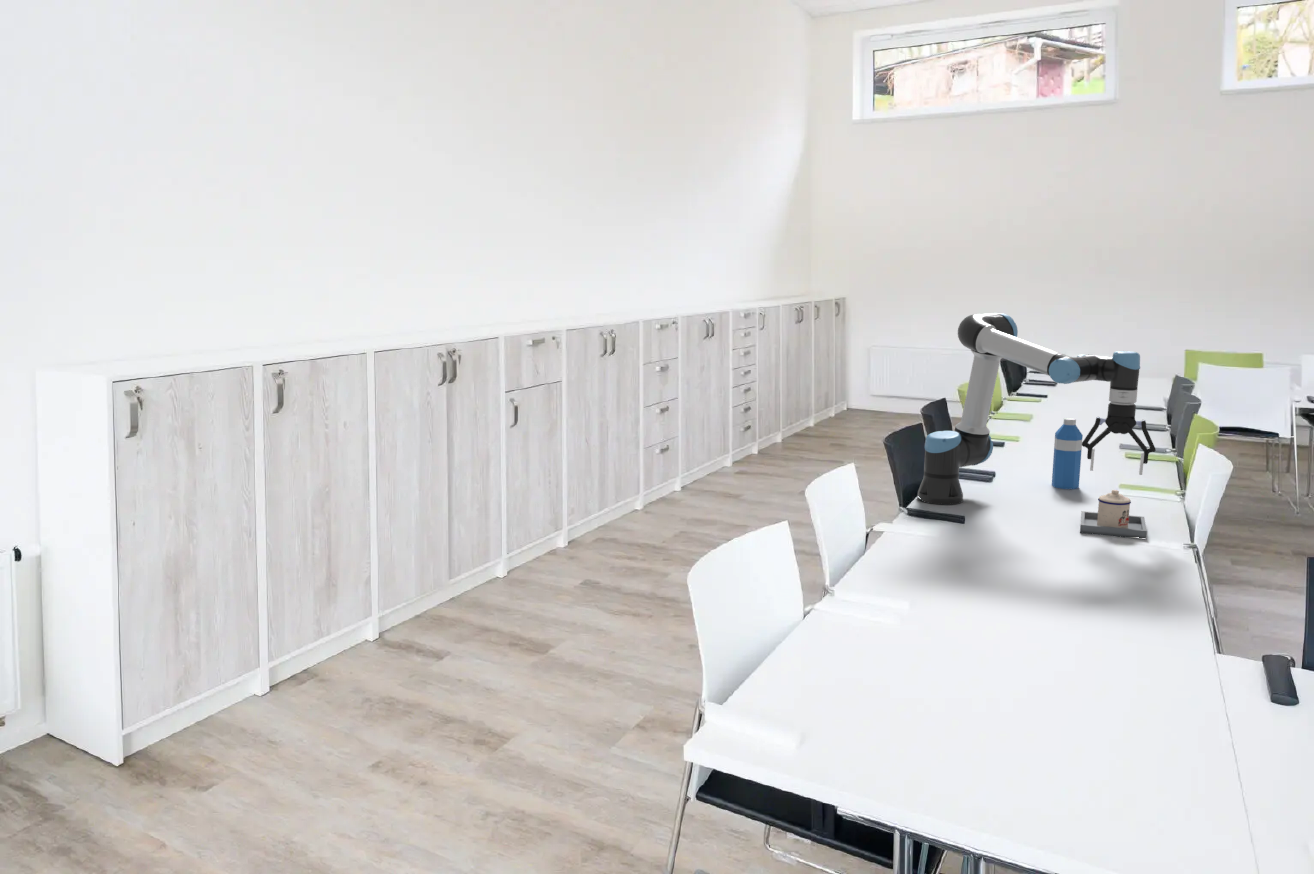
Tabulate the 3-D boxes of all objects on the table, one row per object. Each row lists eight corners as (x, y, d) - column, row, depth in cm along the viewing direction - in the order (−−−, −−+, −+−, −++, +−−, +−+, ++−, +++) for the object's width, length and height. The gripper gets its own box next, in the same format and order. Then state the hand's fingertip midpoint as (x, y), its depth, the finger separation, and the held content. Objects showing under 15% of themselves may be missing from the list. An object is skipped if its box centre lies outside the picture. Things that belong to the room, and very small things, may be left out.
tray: (1079, 533, 297) (1080, 524, 296) (1080, 518, 313) (1081, 511, 312) (1146, 539, 289) (1146, 531, 289) (1143, 524, 306) (1144, 516, 305)
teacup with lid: (1124, 533, 293) (1127, 495, 291) (1092, 528, 299) (1095, 490, 297) (1134, 524, 302) (1137, 488, 300) (1103, 520, 308) (1106, 484, 306)
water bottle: (1081, 485, 360) (1086, 418, 355) (1076, 490, 352) (1081, 421, 347) (1054, 482, 365) (1058, 416, 360) (1049, 487, 357) (1053, 419, 352)
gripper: (1077, 402, 296) (1071, 470, 300) (1169, 407, 286) (1162, 478, 290) (1077, 398, 303) (1071, 465, 306) (1168, 404, 293) (1160, 473, 297)
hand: (1115, 471), depth 298 cm, fingers open, 13 cm apart
